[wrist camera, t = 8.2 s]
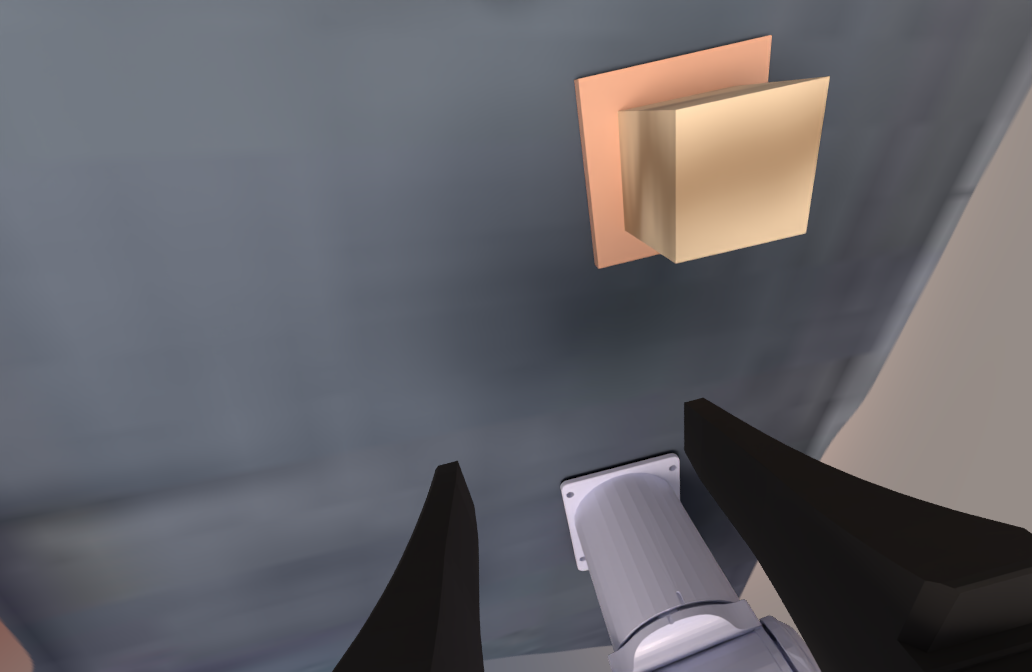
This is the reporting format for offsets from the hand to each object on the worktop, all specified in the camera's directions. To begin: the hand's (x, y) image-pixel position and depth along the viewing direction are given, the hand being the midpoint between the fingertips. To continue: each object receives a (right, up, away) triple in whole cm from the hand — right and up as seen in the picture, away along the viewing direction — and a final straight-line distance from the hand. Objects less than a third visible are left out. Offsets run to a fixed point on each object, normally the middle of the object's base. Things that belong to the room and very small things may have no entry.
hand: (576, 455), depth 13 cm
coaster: (+5, +12, +6) cm, 14 cm away
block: (+5, +11, +5) cm, 14 cm away
